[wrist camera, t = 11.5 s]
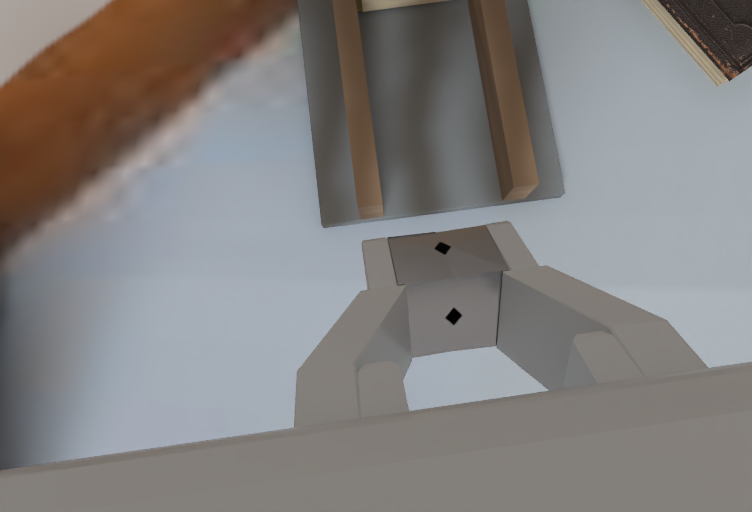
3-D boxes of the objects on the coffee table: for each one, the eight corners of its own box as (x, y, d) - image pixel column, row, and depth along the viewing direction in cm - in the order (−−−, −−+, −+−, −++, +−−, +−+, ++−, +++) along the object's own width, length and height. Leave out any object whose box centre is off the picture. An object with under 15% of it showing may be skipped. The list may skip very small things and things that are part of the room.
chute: (323, 227, 32) (314, 213, 28) (290, -79, 36) (277, -129, 32) (559, 197, 32) (583, 178, 28) (500, -108, 36) (513, -163, 32)
